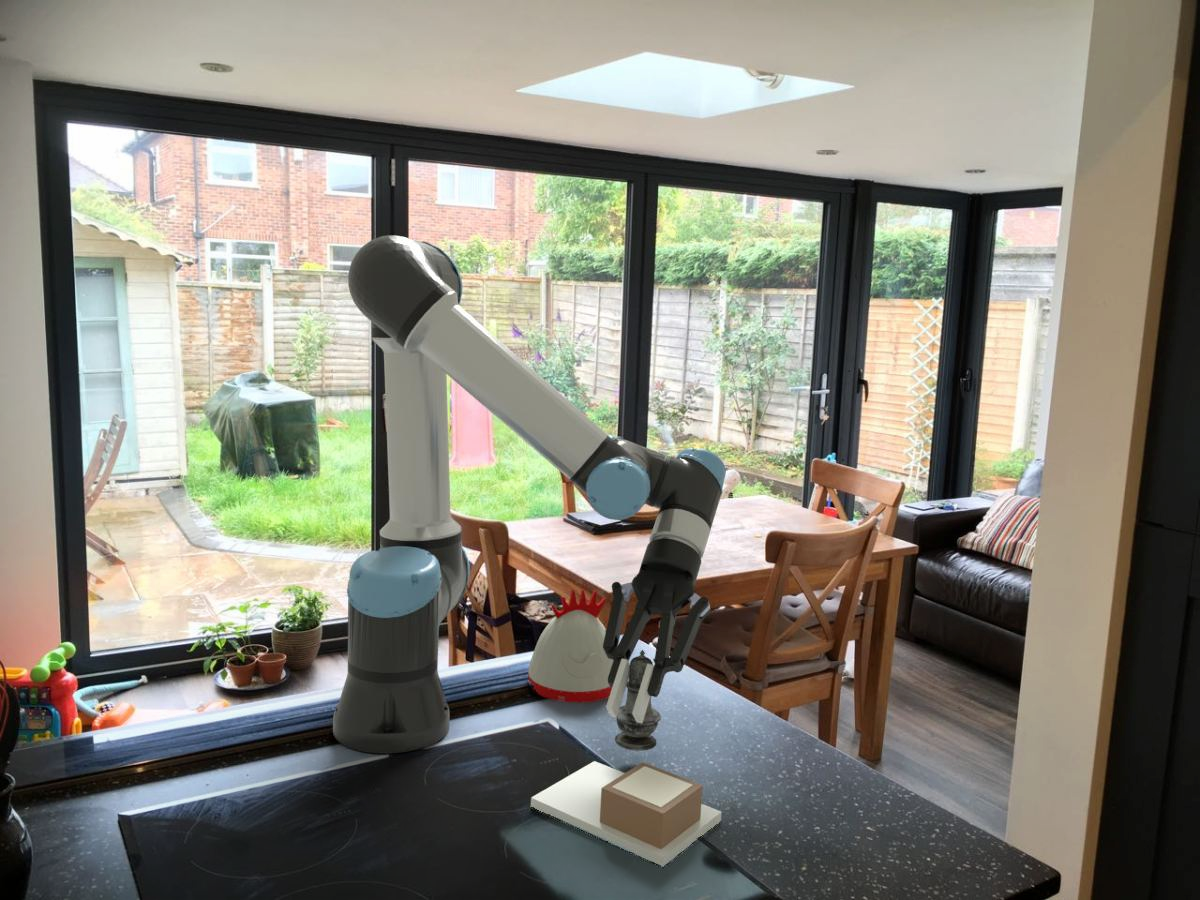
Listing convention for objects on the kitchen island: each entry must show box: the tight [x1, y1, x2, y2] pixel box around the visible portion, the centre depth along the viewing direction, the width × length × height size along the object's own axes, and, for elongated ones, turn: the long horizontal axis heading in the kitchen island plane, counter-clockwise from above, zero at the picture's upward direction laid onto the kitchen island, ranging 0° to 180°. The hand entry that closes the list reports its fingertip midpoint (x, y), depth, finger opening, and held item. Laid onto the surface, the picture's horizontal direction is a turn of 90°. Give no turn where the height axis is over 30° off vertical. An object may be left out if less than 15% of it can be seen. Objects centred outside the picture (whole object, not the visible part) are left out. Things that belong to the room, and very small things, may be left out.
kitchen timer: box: [527, 587, 613, 703], centre depth 144 cm, size 14×14×15 cm
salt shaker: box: [614, 649, 662, 752], centre depth 119 cm, size 6×6×12 cm
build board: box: [530, 760, 722, 866], centre depth 108 cm, size 18×12×5 cm, turn 53°
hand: (624, 715), depth 114 cm, fingers closed on salt shaker, 3 cm apart
